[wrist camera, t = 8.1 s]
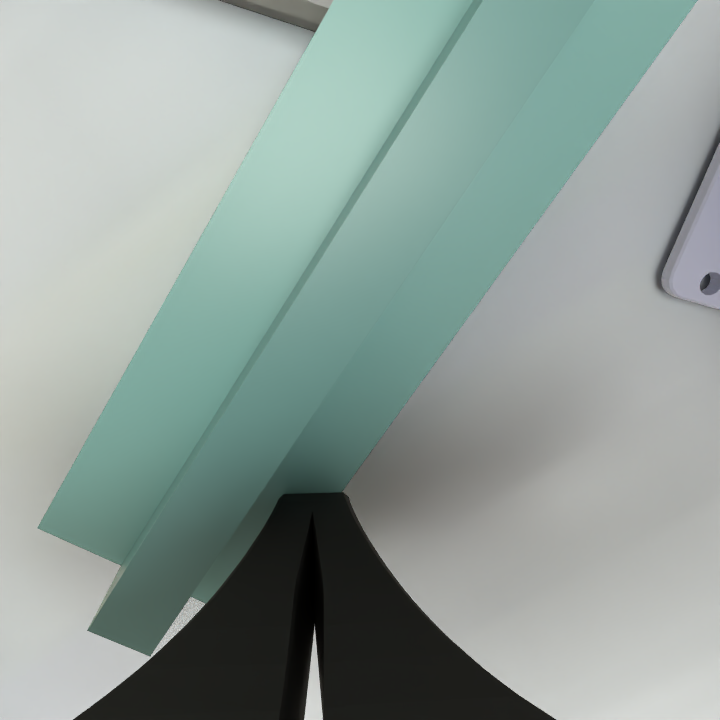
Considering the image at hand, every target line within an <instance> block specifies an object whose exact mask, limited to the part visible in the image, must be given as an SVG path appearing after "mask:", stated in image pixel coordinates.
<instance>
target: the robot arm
mask: <svg viewBox="0 0 720 720" xmlns="http://www.w3.org/2000/svg"><path fill="white" fill-rule="evenodd" d="M707 274H710V277H711V279H710V284H709V285H708V286H707V288H706V289H704V290H702V291H701V290H700V282H701V280H702V279H703V277H704V276H705V275H707ZM661 281H662V287H663V288H664V290H665V291H666V293H668V294H670V295H672V296H674V297H677V298H680V299H683V300H687V301H690V302H694V303H697V304H701V305H704V306H708V307H712V308H715V309H719V310H720V143H719V145H718V147H717V149H716V152H715V154H714V156H713V158H712V161H711V163H710V165H709V168H708V170H707V172H706V174H705V177H704V179H703V181H702V183H701V186H700V188H699V190H698V192H697V195H696V197H695V199H694V202H693V204H692V206H691V208H690V211H689V213H688V215H687V217H686V220H685V222H684V224H683V226H682V229H681V231H680V233H679V236H678V238H677V240H676V242H675V245H674V247H673V249H672V251H671V254H670V256H669V258H668V260H667V263H666V265H665V267H664V270H663V273H662V277H661ZM314 625H315V632H316V643H317V655H318V666H319V678H320V689H321V700H322V712H323V720H556V719H554V718H553V717H551V716H550V715H548V714H547V713H545V712H544V711H542V710H541V709H539V708H537V707H536V706H534V705H533V704H531V703H530V702H528V701H527V700H525V699H524V698H522V697H521V696H519V695H518V694H516V693H515V692H514V691H512V690H511V689H510V688H508V687H507V686H506V685H504V684H503V683H502V682H500V681H499V680H498V679H496V678H495V677H494V676H493V675H491V674H490V673H489V672H487V671H486V670H485V669H483V668H482V667H481V666H480V665H479V664H478V663H477V662H475V661H474V660H473V659H472V658H471V657H470V656H469V655H467V654H466V653H465V652H464V651H463V650H462V649H461V648H460V647H458V646H457V645H456V644H455V643H454V642H453V641H452V640H450V639H449V638H448V637H447V636H446V635H445V634H444V633H443V632H442V631H441V630H440V629H439V628H438V627H437V626H436V625H435V624H434V623H433V622H432V621H431V620H430V619H429V617H428V616H427V615H426V614H425V613H424V612H423V611H422V610H421V609H420V608H419V606H418V605H417V604H416V603H415V602H414V601H413V600H412V598H411V597H410V596H409V595H408V594H407V592H406V591H405V590H404V589H403V587H402V586H401V585H400V584H399V582H398V581H397V580H396V578H395V577H394V576H393V574H392V573H391V572H390V570H389V569H388V568H387V566H386V565H385V563H384V562H383V560H382V559H381V558H380V556H379V554H378V553H377V551H376V550H375V548H374V547H373V545H372V543H371V542H370V540H369V539H368V537H367V535H366V534H365V532H364V530H363V528H362V526H361V525H360V523H359V521H358V519H357V517H356V515H355V513H354V511H353V508H352V506H351V503H350V500H349V497H348V496H347V495H346V494H345V493H344V492H335V493H298V494H283V495H282V496H281V497H280V498H279V499H278V501H277V503H276V505H275V507H274V509H273V511H272V513H271V515H270V517H269V518H268V520H267V522H266V524H265V525H264V527H263V528H262V530H261V532H260V533H259V535H258V536H257V538H256V539H255V541H254V542H253V544H252V545H251V547H250V548H249V550H248V551H247V553H246V554H245V556H244V557H243V558H242V560H241V561H240V562H239V564H238V565H237V566H236V568H235V569H234V570H233V571H232V573H231V574H230V575H229V577H228V578H227V579H226V580H225V582H224V583H223V584H222V586H221V587H220V588H219V589H218V590H217V592H216V593H215V594H214V595H213V596H212V597H211V599H210V600H209V601H208V602H207V603H206V604H205V605H204V606H203V608H202V609H201V610H200V611H199V612H198V613H197V614H196V615H195V616H194V617H193V618H192V619H191V620H190V621H189V622H188V624H187V625H186V626H185V627H184V628H183V629H182V630H181V631H179V632H178V633H177V634H176V635H175V636H174V637H173V638H172V639H171V640H170V641H169V642H168V643H167V644H166V645H165V646H164V647H163V648H162V649H161V650H160V651H159V652H157V653H156V654H155V655H154V656H153V657H152V658H151V659H150V660H149V661H147V662H146V663H145V664H144V665H143V666H142V667H141V668H139V669H138V670H137V671H136V672H135V673H133V674H132V675H131V676H130V677H128V678H127V679H126V680H125V681H123V682H122V683H121V684H120V685H118V686H117V687H116V688H115V689H113V690H112V691H111V692H110V693H108V694H107V695H106V696H104V697H103V698H102V699H100V700H99V701H98V702H96V703H95V704H94V705H92V706H91V707H90V708H88V709H87V710H86V711H84V712H83V713H81V714H80V715H79V716H77V717H76V718H75V719H73V720H304V715H305V706H306V697H307V688H308V679H309V671H310V662H311V652H312V643H313V634H314Z"/></svg>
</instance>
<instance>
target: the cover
mask: <svg viewBox="0 0 720 720" xmlns="http://www.w3.org/2000/svg"><path fill="white" fill-rule="evenodd" d="M697 1H698V0H333V2H332V4H331V6H330V7H329V9H328V11H327V13H326V14H325V16H324V18H323V20H322V22H321V23H320V25H319V27H318V29H317V30H316V32H315V34H314V36H313V38H312V39H311V41H310V43H309V45H308V47H307V48H306V50H305V52H304V54H303V55H302V57H301V59H300V61H299V63H298V64H297V66H296V68H295V70H294V71H293V73H292V75H291V77H290V79H289V80H288V82H287V84H286V86H285V87H284V89H283V91H282V93H281V95H280V96H279V98H278V100H277V102H276V104H275V105H274V107H273V109H272V111H271V112H270V114H269V116H268V118H267V120H266V121H265V123H264V125H263V127H262V128H261V130H260V132H259V134H258V136H257V137H256V139H255V141H254V143H253V145H252V146H251V148H250V150H249V152H248V153H247V155H246V157H245V159H244V161H243V162H242V164H241V166H240V168H239V169H238V171H237V173H236V175H235V177H234V178H233V180H232V182H231V184H230V186H229V187H228V189H227V191H226V193H225V194H224V196H223V198H222V200H221V202H220V203H219V205H218V207H217V209H216V210H215V212H214V214H213V216H212V218H211V219H210V221H209V223H208V225H207V227H206V228H205V230H204V232H203V234H202V235H201V237H200V239H199V241H198V243H197V244H196V246H195V248H194V250H193V251H192V253H191V255H190V257H189V259H188V260H187V262H186V264H185V266H184V268H183V269H182V271H181V273H180V275H179V276H178V278H177V280H176V282H175V284H174V285H173V287H172V289H171V291H170V292H169V294H168V296H167V298H166V300H165V301H164V303H163V305H162V307H161V309H160V310H159V312H158V314H157V316H156V317H155V319H154V321H153V323H152V325H151V326H150V328H149V330H148V332H147V333H146V335H145V337H144V339H143V341H142V342H141V344H140V346H139V348H138V350H137V351H136V353H135V355H134V357H133V358H132V360H131V362H130V364H129V366H128V367H127V369H126V371H125V373H124V374H123V376H122V378H121V380H120V382H119V383H118V385H117V387H116V389H115V391H114V392H113V394H112V396H111V398H110V399H109V401H108V403H107V405H106V407H105V408H104V410H103V412H102V414H101V415H100V417H99V419H98V421H97V423H96V424H95V426H94V428H93V430H92V432H91V433H90V435H89V437H88V439H87V440H86V442H85V444H84V446H83V448H82V449H81V451H80V453H79V455H78V456H77V458H76V460H75V462H74V464H73V465H72V467H71V469H70V471H69V473H68V474H67V476H66V478H65V480H64V481H63V483H62V485H61V487H60V489H59V490H58V492H57V494H56V496H55V497H54V499H53V501H52V503H51V505H50V506H49V508H48V510H47V512H46V514H45V515H44V517H43V519H42V521H41V522H40V524H39V526H38V529H40V530H43V531H45V532H47V533H49V534H52V535H54V536H56V537H58V538H61V539H63V540H65V541H67V542H69V543H72V544H74V545H76V546H78V547H81V548H83V549H85V550H87V551H90V552H92V553H94V554H96V555H99V556H101V557H103V558H105V559H108V560H110V561H112V562H114V563H116V564H119V565H121V567H120V569H119V571H118V573H117V575H116V577H115V579H114V580H113V582H112V584H111V586H110V588H109V590H108V592H107V594H106V596H105V598H104V600H103V602H102V603H101V605H100V607H99V609H98V611H97V613H96V615H95V617H94V619H93V621H92V623H91V624H90V626H89V628H88V630H87V631H90V632H92V633H94V634H97V635H99V636H102V637H104V638H107V639H109V640H111V641H114V642H116V643H119V644H121V645H124V646H126V647H129V648H131V649H133V650H136V651H138V652H141V653H143V654H146V655H148V656H151V654H152V653H153V651H154V650H155V648H156V647H157V645H158V644H159V642H160V641H161V639H162V638H163V636H164V635H165V633H166V632H167V631H168V629H169V628H170V626H171V625H172V623H173V622H174V620H175V619H176V617H177V616H178V614H179V613H180V611H181V610H182V608H183V607H184V605H185V604H186V602H187V601H188V600H189V598H190V597H193V598H195V599H197V600H199V601H202V602H204V603H207V602H208V601H209V600H210V599H211V597H212V596H213V595H214V594H215V593H216V592H217V590H218V589H219V588H220V587H221V586H222V584H223V583H224V582H225V580H226V579H227V578H228V577H229V575H230V574H231V573H232V571H233V570H234V569H235V568H236V566H237V565H238V564H239V562H240V561H241V560H242V558H243V557H244V556H245V554H246V553H247V551H248V550H249V548H250V547H251V545H252V544H253V542H254V541H255V539H256V538H257V536H258V535H259V533H260V532H261V530H262V528H263V527H264V525H265V524H266V522H267V520H268V518H269V517H270V515H271V513H272V511H273V509H274V507H275V505H276V503H277V501H278V499H279V498H280V497H281V496H282V495H283V494H298V493H335V492H342V491H343V490H344V488H345V487H346V485H347V484H348V483H349V481H350V480H351V479H352V477H353V476H354V474H355V473H356V472H357V470H358V469H359V468H360V466H361V465H362V463H363V462H364V461H365V459H366V458H367V456H368V455H369V454H370V452H371V451H372V450H373V448H374V447H375V445H376V444H377V443H378V441H379V440H380V438H381V437H382V436H383V434H384V433H385V432H386V430H387V429H388V427H389V426H390V425H391V423H392V422H393V421H394V419H395V418H396V416H397V415H398V414H399V412H400V411H401V409H402V408H403V407H404V405H405V404H406V403H407V401H408V400H409V398H410V397H411V396H412V394H413V393H414V392H415V390H416V389H417V387H418V386H419V385H420V383H421V382H422V380H423V379H424V378H425V376H426V375H427V374H428V372H429V371H430V369H431V368H432V367H433V365H434V364H435V363H436V361H437V360H438V358H439V357H440V356H441V354H442V353H443V351H444V350H445V349H446V347H447V346H448V345H449V343H450V342H451V340H452V339H453V338H454V336H455V335H456V334H457V332H458V331H459V329H460V328H461V327H462V325H463V324H464V322H465V321H466V320H467V318H468V317H469V316H470V314H471V313H472V311H473V310H474V309H475V307H476V306H477V305H478V303H479V302H480V300H481V299H482V298H483V296H484V295H485V293H486V292H487V291H488V289H489V288H490V287H491V285H492V284H493V282H494V281H495V280H496V278H497V277H498V275H499V274H500V273H501V271H502V270H503V269H504V267H505V266H506V264H507V263H508V262H509V260H510V259H511V258H512V256H513V255H514V253H515V252H516V251H517V249H518V248H519V246H520V245H521V244H522V242H523V241H524V240H525V238H526V237H527V235H528V234H529V233H530V231H531V230H532V229H533V227H534V226H535V224H536V223H537V222H538V220H539V219H540V217H541V216H542V215H543V213H544V212H545V211H546V209H547V208H548V206H549V205H550V204H551V202H552V201H553V200H554V198H555V197H556V195H557V194H558V193H559V191H560V190H561V188H562V187H563V186H564V184H565V183H566V182H567V180H568V179H569V177H570V176H571V175H572V173H573V172H574V171H575V169H576V168H577V166H578V165H579V164H580V162H581V161H582V159H583V158H584V157H585V155H586V154H587V153H588V151H589V150H590V148H591V147H592V146H593V144H594V143H595V142H596V140H597V139H598V137H599V136H600V135H601V133H602V132H603V130H604V129H605V128H606V126H607V125H608V124H609V122H610V121H611V119H612V118H613V117H614V115H615V114H616V112H617V111H618V110H619V108H620V107H621V106H622V104H623V103H624V101H625V100H626V99H627V97H628V96H629V95H630V93H631V92H632V90H633V89H634V88H635V86H636V85H637V83H638V82H639V81H640V79H641V78H642V77H643V75H644V74H645V72H646V71H647V70H648V68H649V67H650V66H651V64H652V63H653V61H654V60H655V59H656V57H657V56H658V54H659V53H660V52H661V50H662V49H663V48H664V46H665V45H666V43H667V42H668V41H669V39H670V38H671V37H672V35H673V34H674V32H675V31H676V30H677V28H678V27H679V25H680V24H681V23H682V21H683V20H684V19H685V17H686V16H687V14H688V13H689V12H690V10H691V9H692V8H693V6H694V5H695V3H696V2H697Z"/></svg>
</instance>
